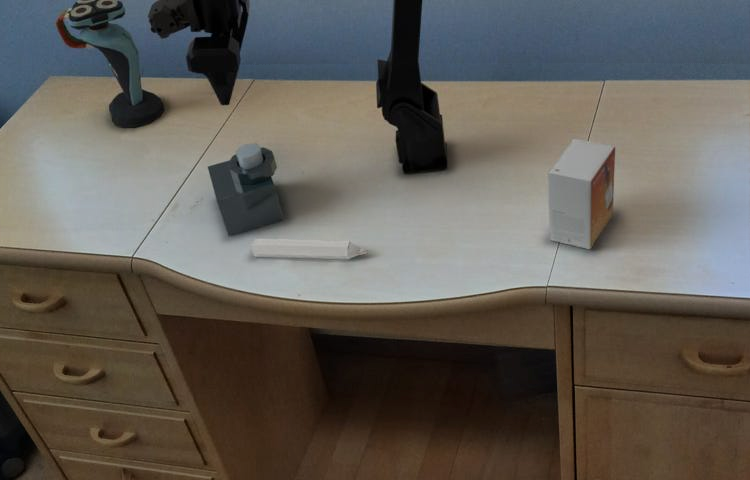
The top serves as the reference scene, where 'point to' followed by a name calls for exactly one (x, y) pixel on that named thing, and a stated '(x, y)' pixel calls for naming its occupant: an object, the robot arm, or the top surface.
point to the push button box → (246, 194)
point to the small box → (581, 193)
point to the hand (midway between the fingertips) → (228, 87)
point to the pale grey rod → (306, 249)
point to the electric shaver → (113, 58)
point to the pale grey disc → (249, 156)
